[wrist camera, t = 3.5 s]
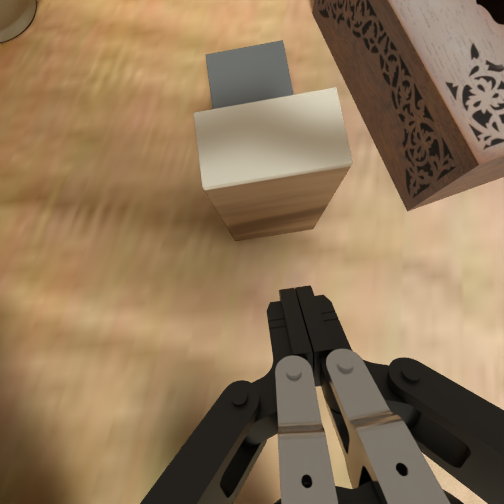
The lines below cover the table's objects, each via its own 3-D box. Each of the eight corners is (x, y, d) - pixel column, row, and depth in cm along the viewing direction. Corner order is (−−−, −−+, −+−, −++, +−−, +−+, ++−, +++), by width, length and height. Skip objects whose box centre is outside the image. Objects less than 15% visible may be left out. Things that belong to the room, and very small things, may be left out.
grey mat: (307, 171, 29) (307, 169, 29) (223, 185, 30) (222, 183, 29) (282, 44, 32) (282, 40, 31) (206, 58, 32) (205, 54, 32)
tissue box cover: (312, 16, 33) (329, -105, 23) (427, -26, 33) (495, -167, 23) (406, 212, 28) (479, 165, 18) (541, 163, 28) (688, 89, 18)
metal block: (312, 229, 28) (353, 162, 14) (235, 241, 28) (202, 187, 15) (305, 187, 29) (336, 87, 15) (230, 200, 29) (193, 112, 15)
